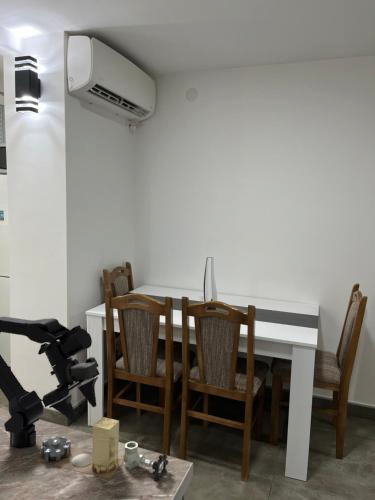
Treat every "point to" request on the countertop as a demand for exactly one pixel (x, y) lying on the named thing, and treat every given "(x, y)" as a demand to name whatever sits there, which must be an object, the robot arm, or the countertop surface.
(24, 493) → the countertop surface
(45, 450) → the sun gear
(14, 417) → the robot arm
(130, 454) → the valve
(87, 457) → the carrier board
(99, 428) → the gold tall block
